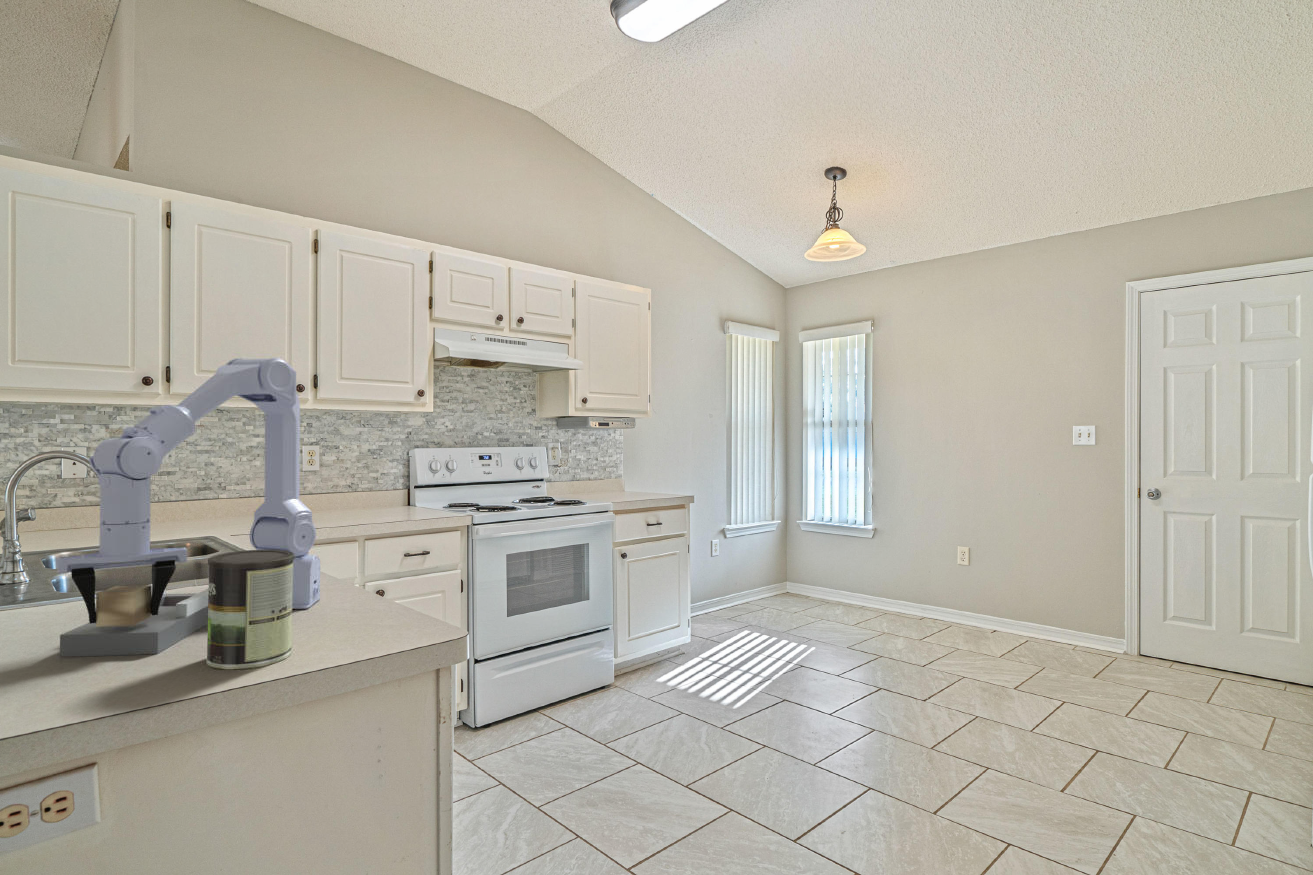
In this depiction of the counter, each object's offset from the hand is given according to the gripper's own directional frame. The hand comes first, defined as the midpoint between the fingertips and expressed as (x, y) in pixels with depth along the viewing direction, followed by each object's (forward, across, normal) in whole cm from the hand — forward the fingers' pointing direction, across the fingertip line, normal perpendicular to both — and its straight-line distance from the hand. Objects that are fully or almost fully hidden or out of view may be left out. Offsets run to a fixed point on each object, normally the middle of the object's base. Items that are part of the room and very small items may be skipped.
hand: (124, 617), depth 98 cm
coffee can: (+5, -13, +15) cm, 21 cm away
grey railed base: (+4, -4, -7) cm, 10 cm away
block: (0, 0, 0) cm, 1 cm away
